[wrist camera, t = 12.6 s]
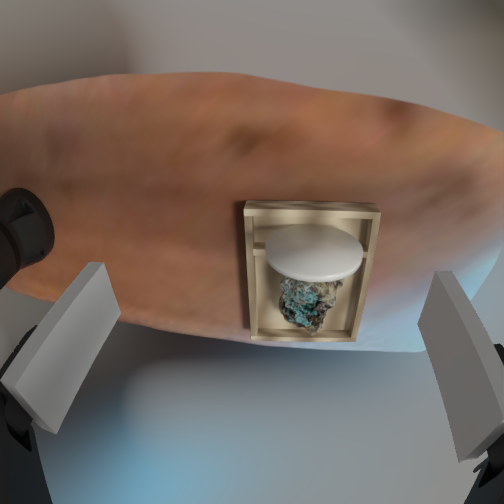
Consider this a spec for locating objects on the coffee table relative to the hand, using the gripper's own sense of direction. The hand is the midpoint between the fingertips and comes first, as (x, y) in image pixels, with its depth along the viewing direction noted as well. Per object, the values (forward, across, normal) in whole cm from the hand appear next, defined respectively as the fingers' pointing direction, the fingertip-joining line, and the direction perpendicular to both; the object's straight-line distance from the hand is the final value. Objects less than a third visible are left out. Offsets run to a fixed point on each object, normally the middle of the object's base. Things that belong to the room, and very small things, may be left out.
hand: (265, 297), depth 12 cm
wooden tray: (+32, +4, -21) cm, 38 cm away
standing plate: (+32, +4, -12) cm, 34 cm away
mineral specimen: (+31, +4, -23) cm, 39 cm away
